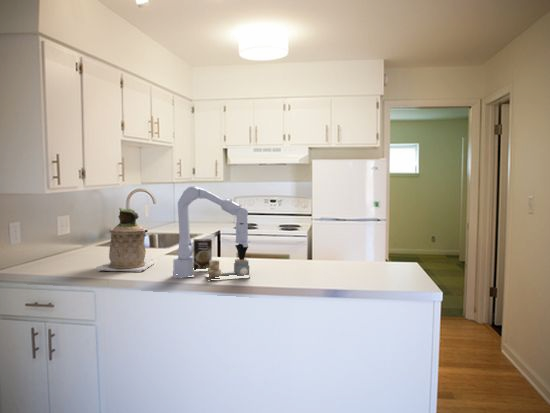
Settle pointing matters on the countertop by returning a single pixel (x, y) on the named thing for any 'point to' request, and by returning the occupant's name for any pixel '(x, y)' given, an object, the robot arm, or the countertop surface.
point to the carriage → (214, 268)
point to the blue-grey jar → (241, 267)
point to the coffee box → (202, 253)
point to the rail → (224, 274)
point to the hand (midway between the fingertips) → (241, 259)
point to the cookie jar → (127, 245)
